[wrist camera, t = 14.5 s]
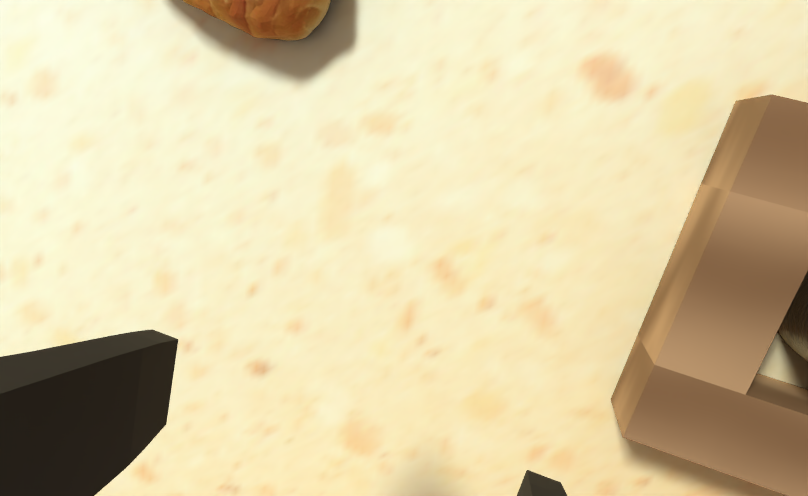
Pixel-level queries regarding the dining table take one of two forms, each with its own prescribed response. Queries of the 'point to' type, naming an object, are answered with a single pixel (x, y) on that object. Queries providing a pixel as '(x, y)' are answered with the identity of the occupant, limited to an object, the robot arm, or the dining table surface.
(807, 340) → the dark grey short cylinder
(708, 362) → the socket block
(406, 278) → the dining table surface
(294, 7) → the pastry
